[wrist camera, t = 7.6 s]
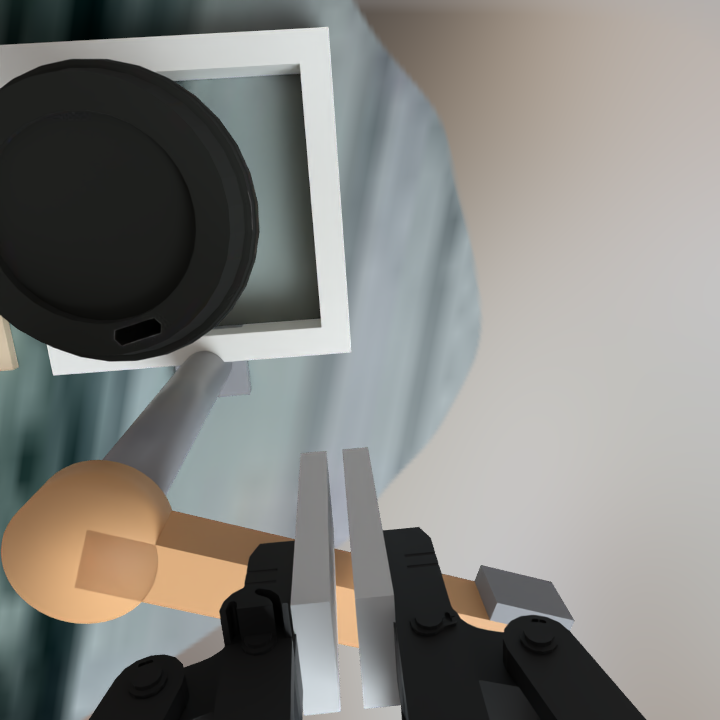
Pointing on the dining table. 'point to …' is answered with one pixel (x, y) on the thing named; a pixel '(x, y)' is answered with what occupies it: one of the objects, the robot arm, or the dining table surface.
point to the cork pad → (7, 347)
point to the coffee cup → (119, 211)
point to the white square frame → (332, 331)
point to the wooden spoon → (187, 558)
